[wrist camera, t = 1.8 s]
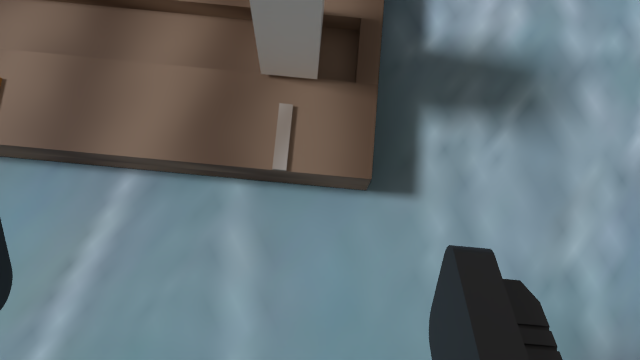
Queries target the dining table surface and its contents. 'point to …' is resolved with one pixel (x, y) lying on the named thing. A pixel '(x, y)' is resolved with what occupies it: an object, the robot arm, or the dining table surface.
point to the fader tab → (288, 36)
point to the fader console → (187, 90)
